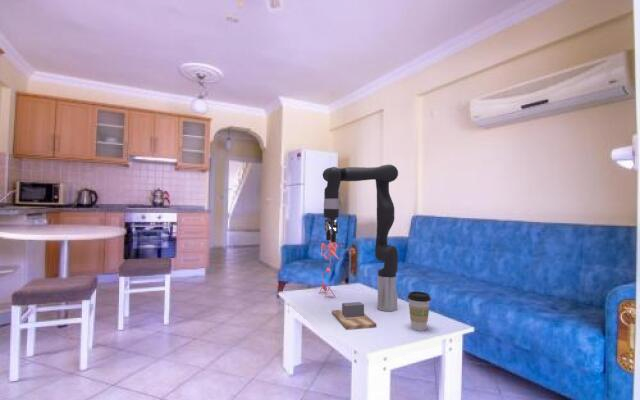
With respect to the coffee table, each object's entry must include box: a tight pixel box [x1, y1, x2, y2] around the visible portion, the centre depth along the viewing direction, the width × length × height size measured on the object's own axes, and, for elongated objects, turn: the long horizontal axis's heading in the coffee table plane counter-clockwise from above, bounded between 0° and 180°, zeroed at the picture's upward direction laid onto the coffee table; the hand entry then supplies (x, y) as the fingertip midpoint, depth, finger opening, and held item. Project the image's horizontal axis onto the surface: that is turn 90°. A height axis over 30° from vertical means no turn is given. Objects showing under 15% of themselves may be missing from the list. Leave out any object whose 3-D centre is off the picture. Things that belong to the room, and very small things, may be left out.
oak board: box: [331, 309, 377, 331], centre depth 154 cm, size 14×22×2 cm, turn 14°
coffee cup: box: [407, 291, 432, 332], centre depth 145 cm, size 10×10×15 cm
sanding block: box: [341, 301, 365, 319], centre depth 154 cm, size 10×5×6 cm, turn 104°
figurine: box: [318, 240, 340, 298], centre depth 198 cm, size 15×26×35 cm, turn 22°
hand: (330, 241), depth 160 cm, fingers open, 8 cm apart
